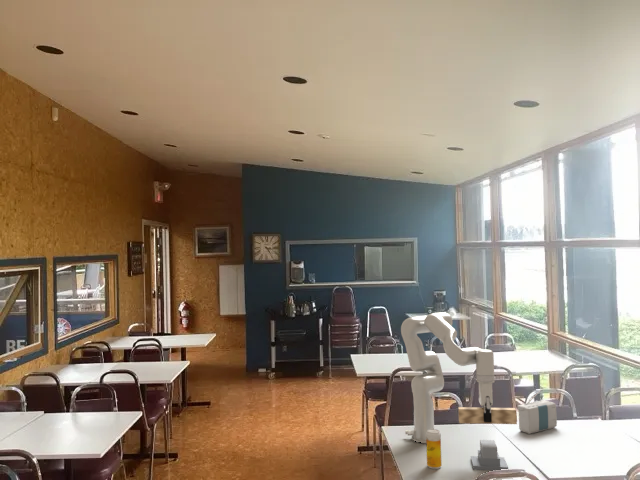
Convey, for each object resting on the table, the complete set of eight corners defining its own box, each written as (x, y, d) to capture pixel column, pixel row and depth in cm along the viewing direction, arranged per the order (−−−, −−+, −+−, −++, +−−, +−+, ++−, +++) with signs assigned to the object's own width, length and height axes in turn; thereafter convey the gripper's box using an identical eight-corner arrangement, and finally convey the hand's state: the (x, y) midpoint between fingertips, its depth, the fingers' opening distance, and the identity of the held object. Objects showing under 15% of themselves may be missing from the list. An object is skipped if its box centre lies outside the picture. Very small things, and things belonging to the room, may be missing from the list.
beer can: (425, 464, 240) (424, 429, 241) (439, 463, 241) (438, 428, 241) (429, 469, 234) (428, 433, 235) (443, 469, 235) (442, 432, 235)
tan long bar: (459, 423, 243) (458, 409, 244) (458, 420, 247) (458, 407, 247) (516, 424, 240) (516, 410, 240) (515, 421, 243) (514, 408, 243)
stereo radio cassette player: (530, 435, 277) (528, 394, 278) (516, 431, 285) (515, 391, 285) (557, 428, 288) (556, 389, 289) (544, 424, 295) (543, 386, 296)
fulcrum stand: (473, 469, 234) (472, 447, 234) (470, 459, 245) (470, 438, 246) (508, 471, 231) (507, 449, 231) (504, 460, 243) (503, 439, 243)
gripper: (474, 374, 253) (476, 415, 252) (478, 382, 237) (480, 426, 236) (491, 374, 252) (493, 416, 251) (497, 382, 235) (498, 426, 234)
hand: (487, 420), depth 243 cm, fingers closed on tan long bar, 3 cm apart
